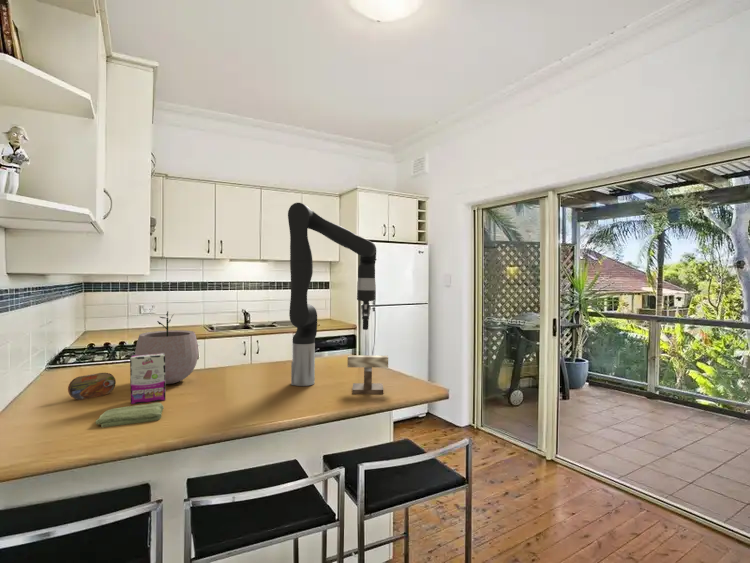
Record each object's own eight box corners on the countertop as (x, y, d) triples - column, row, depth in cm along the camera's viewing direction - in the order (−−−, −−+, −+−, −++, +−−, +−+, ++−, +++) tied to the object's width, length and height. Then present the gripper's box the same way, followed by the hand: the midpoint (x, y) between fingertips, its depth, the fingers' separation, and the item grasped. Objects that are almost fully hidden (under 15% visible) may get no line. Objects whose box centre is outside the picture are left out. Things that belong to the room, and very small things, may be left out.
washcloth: (102, 416, 138) (102, 406, 138) (164, 410, 145) (164, 400, 145) (94, 430, 126) (94, 419, 126) (161, 422, 133) (161, 412, 133)
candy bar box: (165, 397, 159) (165, 352, 159) (165, 400, 155) (165, 355, 154) (130, 400, 154) (130, 355, 154) (129, 404, 149) (130, 357, 149)
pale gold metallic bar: (387, 365, 173) (387, 355, 173) (388, 367, 169) (388, 357, 169) (347, 365, 173) (348, 355, 173) (347, 367, 169) (347, 357, 169)
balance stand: (352, 393, 166) (352, 369, 166) (353, 386, 176) (353, 363, 176) (383, 393, 166) (383, 369, 166) (382, 387, 176) (382, 363, 176)
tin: (70, 402, 152) (69, 378, 152) (66, 400, 154) (66, 377, 154) (116, 393, 164) (116, 371, 164) (112, 391, 166) (112, 370, 166)
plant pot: (127, 382, 181) (127, 310, 180) (186, 373, 197) (186, 308, 197) (145, 393, 163) (145, 314, 163) (207, 383, 180) (207, 311, 179)
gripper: (375, 289, 170) (374, 330, 170) (375, 288, 184) (374, 326, 184) (356, 289, 170) (355, 330, 170) (357, 288, 184) (357, 326, 184)
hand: (365, 328), depth 177 cm, fingers open, 8 cm apart
